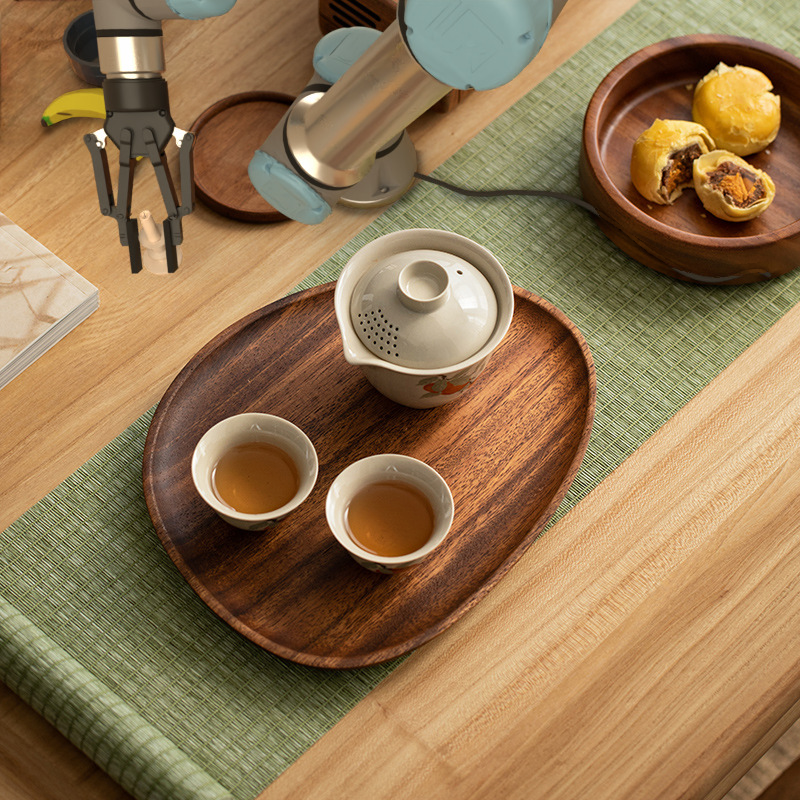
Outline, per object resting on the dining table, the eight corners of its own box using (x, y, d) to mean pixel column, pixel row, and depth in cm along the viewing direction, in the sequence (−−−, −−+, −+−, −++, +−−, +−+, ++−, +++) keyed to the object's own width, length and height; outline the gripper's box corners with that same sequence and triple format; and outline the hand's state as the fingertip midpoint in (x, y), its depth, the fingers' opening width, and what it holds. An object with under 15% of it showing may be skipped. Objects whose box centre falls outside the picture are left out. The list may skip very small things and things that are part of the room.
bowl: (163, 42, 147) (156, 17, 143) (130, 98, 142) (121, 74, 138) (94, 24, 149) (85, -2, 144) (59, 78, 144) (48, 54, 139)
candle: (139, 273, 121) (117, 227, 111) (149, 240, 123) (128, 192, 114) (178, 278, 121) (159, 232, 111) (187, 244, 123) (169, 196, 113)
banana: (39, 81, 138) (25, 170, 134) (151, 79, 137) (141, 169, 133) (52, 99, 143) (39, 186, 139) (161, 97, 141) (151, 185, 137)
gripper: (211, 74, 113) (226, 263, 121) (72, 76, 113) (97, 265, 121) (200, 76, 106) (216, 276, 114) (51, 78, 106) (79, 278, 114)
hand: (155, 270), depth 117 cm, fingers closed on candle, 4 cm apart
